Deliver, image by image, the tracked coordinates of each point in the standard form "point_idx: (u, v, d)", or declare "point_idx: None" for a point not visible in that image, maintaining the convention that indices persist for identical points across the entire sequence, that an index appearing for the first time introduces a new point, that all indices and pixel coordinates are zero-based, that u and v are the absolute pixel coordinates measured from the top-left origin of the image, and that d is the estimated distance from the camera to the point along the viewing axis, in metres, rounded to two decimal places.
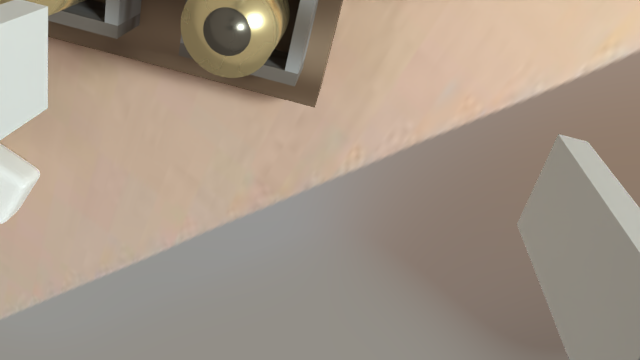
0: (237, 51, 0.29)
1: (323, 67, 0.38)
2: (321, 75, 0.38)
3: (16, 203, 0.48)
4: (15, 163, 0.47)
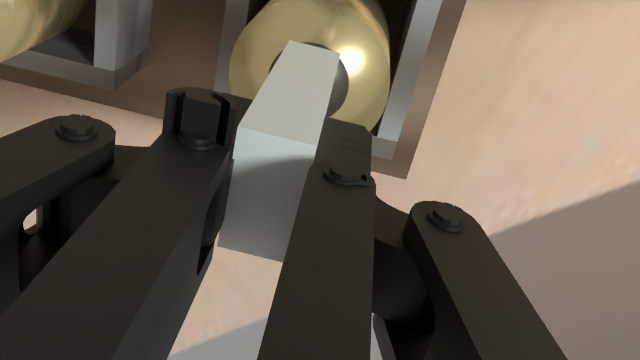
0: None
1: (422, 123, 0.25)
2: (419, 134, 0.26)
3: None
4: None
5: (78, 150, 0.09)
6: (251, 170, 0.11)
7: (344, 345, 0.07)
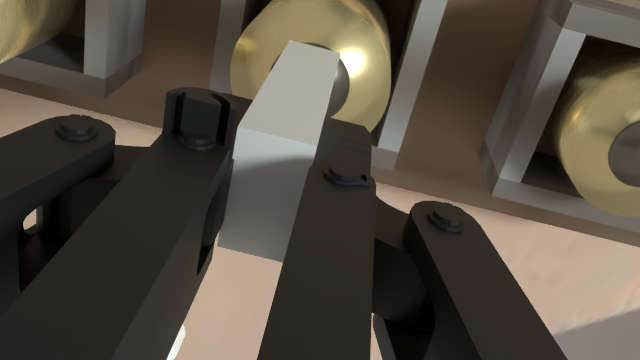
0: None
1: None
2: None
3: None
4: None
5: (78, 150, 0.09)
6: (251, 170, 0.11)
7: (344, 344, 0.07)
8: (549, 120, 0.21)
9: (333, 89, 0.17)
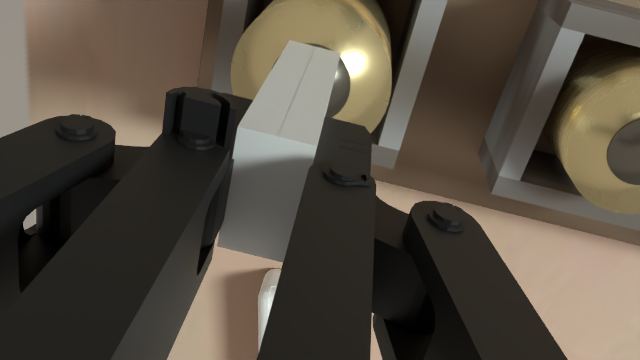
0: None
1: None
2: None
3: None
4: None
5: (78, 150, 0.09)
6: (251, 169, 0.11)
7: (344, 344, 0.07)
8: None
9: None
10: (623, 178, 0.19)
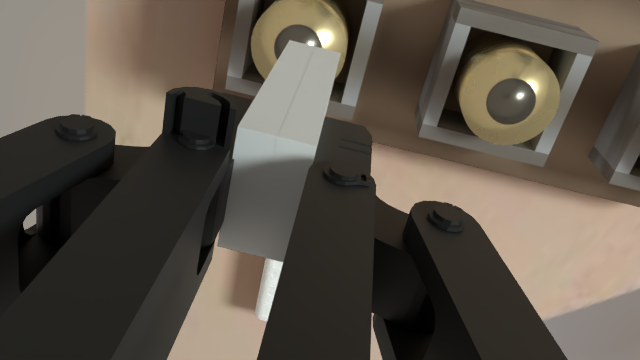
0: None
1: None
2: None
3: None
4: None
5: (78, 150, 0.09)
6: (251, 170, 0.11)
7: (344, 344, 0.07)
8: None
9: (525, 105, 0.29)
10: (498, 120, 0.30)
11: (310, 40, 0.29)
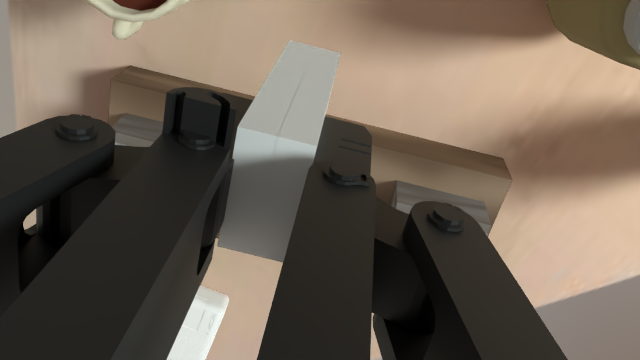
0: None
1: None
2: None
3: None
4: None
5: (78, 150, 0.09)
6: (250, 170, 0.11)
7: (344, 344, 0.07)
8: None
9: None
10: None
11: None
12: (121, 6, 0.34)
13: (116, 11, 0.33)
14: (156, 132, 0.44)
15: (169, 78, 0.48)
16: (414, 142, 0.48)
